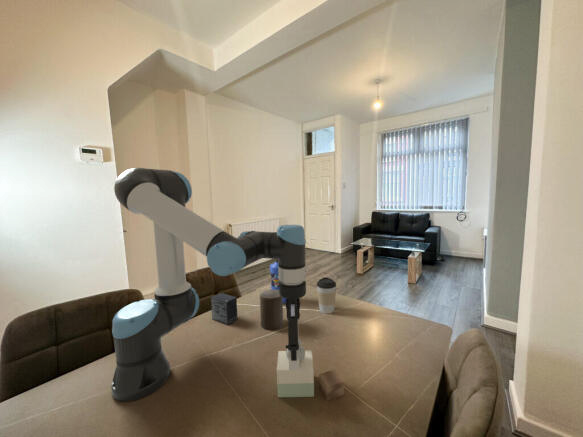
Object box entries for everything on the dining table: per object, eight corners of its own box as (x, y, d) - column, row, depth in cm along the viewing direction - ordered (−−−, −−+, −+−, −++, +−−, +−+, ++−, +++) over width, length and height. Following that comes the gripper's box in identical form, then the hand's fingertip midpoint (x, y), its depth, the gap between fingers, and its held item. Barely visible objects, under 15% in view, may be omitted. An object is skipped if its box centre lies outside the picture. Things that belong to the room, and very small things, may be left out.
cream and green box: (277, 397, 66) (276, 370, 65) (279, 375, 74) (278, 351, 73) (314, 396, 66) (313, 369, 65) (312, 374, 74) (311, 350, 73)
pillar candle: (268, 333, 97) (267, 297, 96) (256, 323, 105) (255, 290, 103) (287, 324, 103) (287, 290, 102) (274, 316, 111) (274, 284, 109)
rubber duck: (289, 369, 65) (288, 341, 64) (283, 354, 71) (282, 328, 71) (308, 365, 67) (307, 338, 66) (301, 350, 73) (300, 325, 72)
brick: (327, 400, 65) (327, 386, 64) (319, 386, 69) (319, 373, 69) (343, 395, 66) (343, 381, 66) (334, 382, 71) (334, 369, 70)
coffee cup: (338, 314, 110) (337, 283, 108) (318, 315, 110) (317, 283, 108) (334, 305, 119) (334, 276, 117) (316, 306, 119) (315, 276, 117)
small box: (238, 318, 109) (237, 296, 108) (227, 325, 104) (226, 302, 103) (222, 313, 115) (221, 292, 114) (211, 319, 109) (210, 297, 108)
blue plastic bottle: (273, 296, 132) (271, 252, 129) (289, 296, 131) (288, 251, 128) (269, 304, 123) (267, 256, 120) (287, 304, 122) (286, 256, 119)
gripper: (308, 299, 54) (310, 386, 56) (304, 266, 79) (305, 327, 81) (275, 300, 54) (278, 387, 57) (281, 267, 79) (283, 328, 81)
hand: (294, 352), depth 69 cm, fingers open, 13 cm apart
